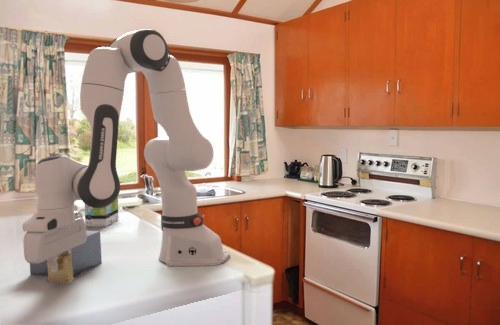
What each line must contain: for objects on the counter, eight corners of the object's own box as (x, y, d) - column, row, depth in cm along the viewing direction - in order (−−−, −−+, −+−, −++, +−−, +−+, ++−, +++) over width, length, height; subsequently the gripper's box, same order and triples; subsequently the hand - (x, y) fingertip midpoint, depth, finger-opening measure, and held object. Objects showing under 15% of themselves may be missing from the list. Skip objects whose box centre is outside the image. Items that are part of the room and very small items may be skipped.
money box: (101, 262, 130) (100, 231, 129) (73, 278, 117) (71, 243, 116) (62, 260, 133) (60, 229, 132) (30, 275, 120) (28, 241, 119)
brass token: (73, 279, 110) (71, 254, 110) (68, 282, 108) (66, 256, 108) (53, 278, 112) (51, 253, 111) (48, 281, 110) (46, 255, 109)
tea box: (107, 226, 180) (106, 193, 179) (84, 227, 180) (82, 193, 179) (119, 219, 195) (117, 188, 194) (98, 219, 195) (96, 188, 194)
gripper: (71, 209, 119) (74, 256, 120) (16, 226, 99) (21, 282, 101) (91, 209, 118) (94, 257, 119) (39, 227, 98) (43, 284, 99)
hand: (60, 269), depth 110 cm, fingers closed on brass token, 2 cm apart
